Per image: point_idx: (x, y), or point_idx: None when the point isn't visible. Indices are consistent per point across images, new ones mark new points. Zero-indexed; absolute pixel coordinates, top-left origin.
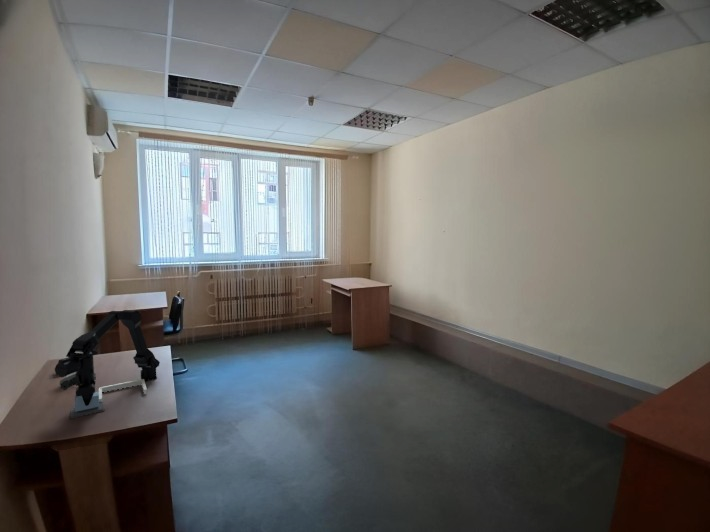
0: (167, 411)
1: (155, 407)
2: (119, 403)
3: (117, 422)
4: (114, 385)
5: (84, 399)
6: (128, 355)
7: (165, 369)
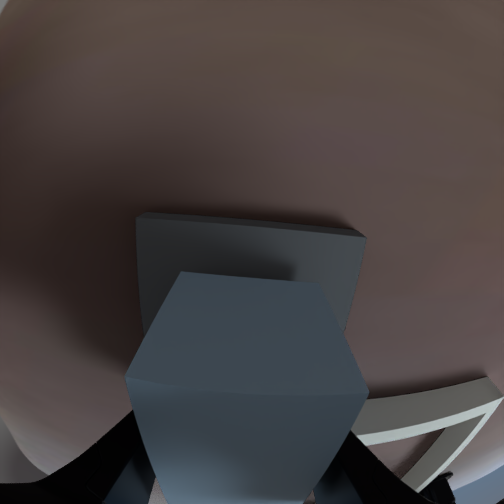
0: None
1: None
2: None
3: (16, 399)
4: (452, 452)
5: (98, 450)
6: None
7: None
